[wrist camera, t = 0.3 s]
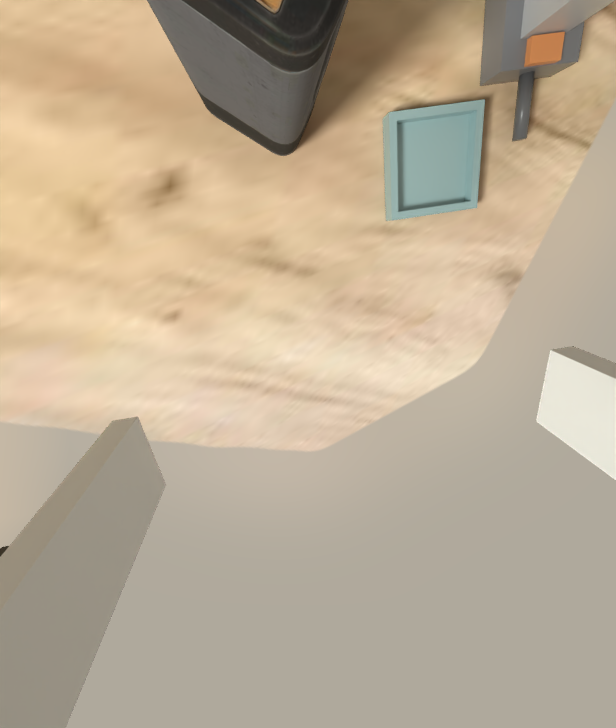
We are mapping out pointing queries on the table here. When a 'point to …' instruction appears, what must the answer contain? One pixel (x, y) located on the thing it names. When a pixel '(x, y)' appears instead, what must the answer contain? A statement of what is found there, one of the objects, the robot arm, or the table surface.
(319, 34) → the electronic device
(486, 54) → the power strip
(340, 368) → the table surface
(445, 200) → the tray
